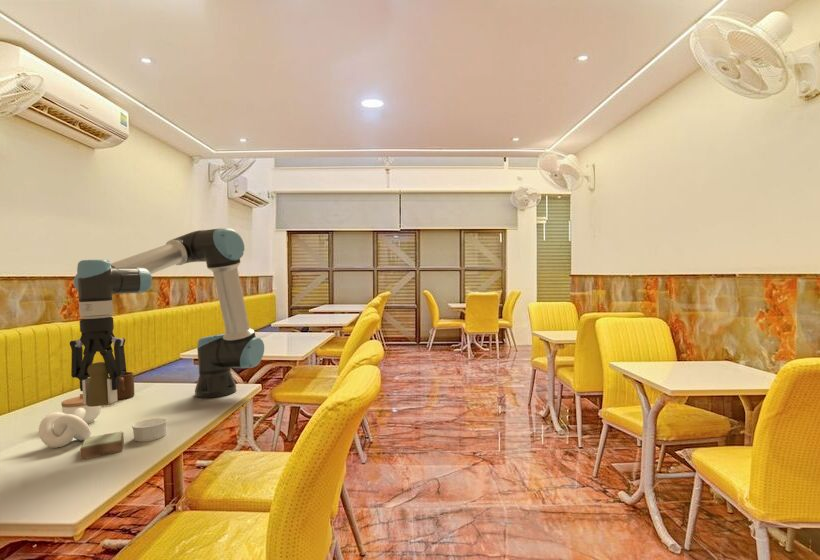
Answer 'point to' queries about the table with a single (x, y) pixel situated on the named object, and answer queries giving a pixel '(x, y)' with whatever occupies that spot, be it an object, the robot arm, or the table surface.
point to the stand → (102, 445)
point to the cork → (98, 384)
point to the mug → (126, 386)
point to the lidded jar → (76, 403)
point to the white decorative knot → (63, 428)
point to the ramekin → (149, 429)
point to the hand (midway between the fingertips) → (100, 402)
